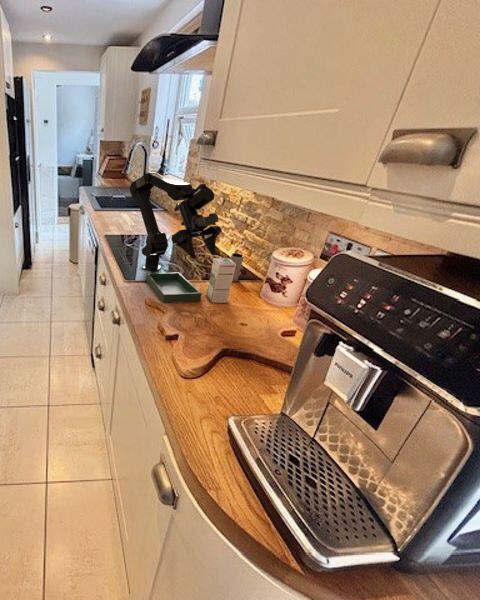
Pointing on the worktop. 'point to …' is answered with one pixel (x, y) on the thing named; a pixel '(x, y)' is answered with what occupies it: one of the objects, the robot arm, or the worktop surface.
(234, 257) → the grey upright cylinder
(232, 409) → the worktop surface
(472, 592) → the worktop surface
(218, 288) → the syrup box
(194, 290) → the tray
